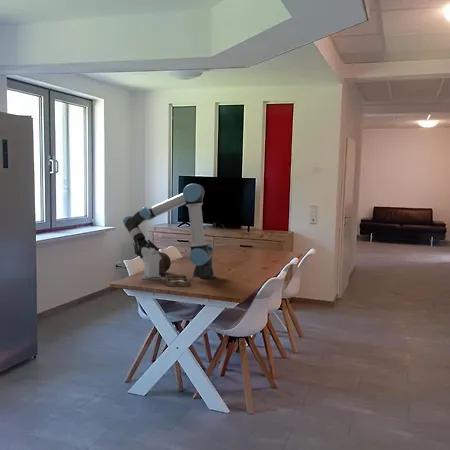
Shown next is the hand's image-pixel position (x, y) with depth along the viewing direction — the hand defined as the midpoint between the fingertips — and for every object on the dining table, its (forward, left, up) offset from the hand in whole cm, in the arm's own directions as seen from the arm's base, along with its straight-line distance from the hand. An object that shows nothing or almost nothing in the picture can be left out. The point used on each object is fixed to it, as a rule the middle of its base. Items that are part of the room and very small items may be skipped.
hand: (153, 260), depth 313 cm
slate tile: (+1, -1, -13) cm, 13 cm away
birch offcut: (-15, +19, -12) cm, 27 cm away
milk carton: (+1, -1, -11) cm, 11 cm away
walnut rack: (-15, +14, -13) cm, 24 cm away
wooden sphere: (-5, -24, -13) cm, 28 cm away
